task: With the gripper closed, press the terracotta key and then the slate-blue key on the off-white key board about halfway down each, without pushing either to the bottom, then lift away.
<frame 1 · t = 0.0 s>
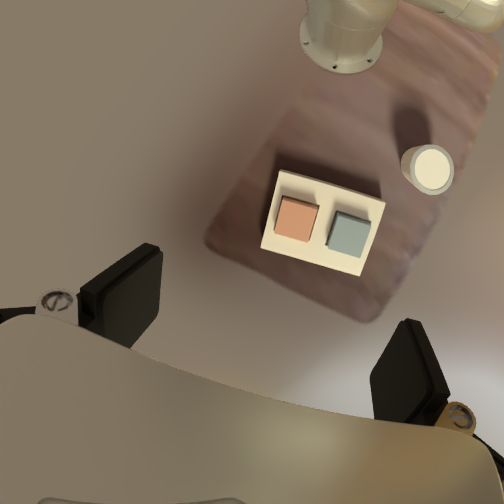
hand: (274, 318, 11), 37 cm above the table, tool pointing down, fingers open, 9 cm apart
key board: (322, 220, 46), on the table
key terracotta: (295, 219, 43), point 4 cm above the table, slide at 0.0 cm
shot glass: (416, 165, 40), on the table
key slate: (348, 235, 42), point 4 cm above the table, slide at 0.0 cm
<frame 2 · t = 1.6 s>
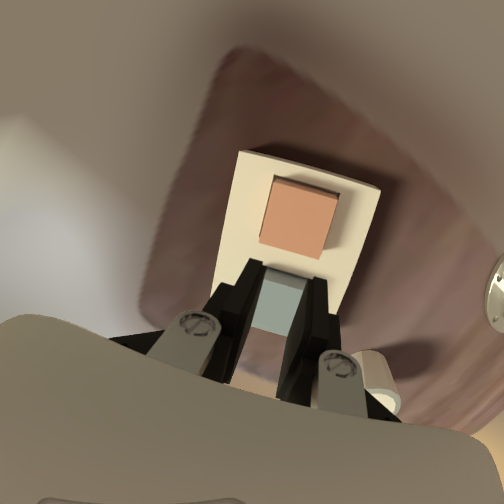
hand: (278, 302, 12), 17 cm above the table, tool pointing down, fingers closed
key board: (289, 247, 29), on the table
key terracotta: (298, 218, 24), point 4 cm above the table, slide at 0.0 cm
shot glass: (364, 366, 33), on the table
key slate: (273, 301, 27), point 4 cm above the table, slide at 0.0 cm
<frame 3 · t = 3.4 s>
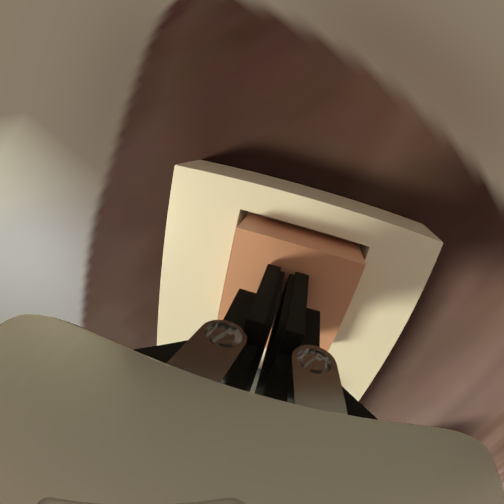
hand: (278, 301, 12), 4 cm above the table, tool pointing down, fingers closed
key board: (274, 321, 18), on the table
key terracotta: (287, 289, 13), point 3 cm above the table, slide at 0.6 cm, touching gripper
key slate: (246, 409, 16), point 4 cm above the table, slide at 0.0 cm
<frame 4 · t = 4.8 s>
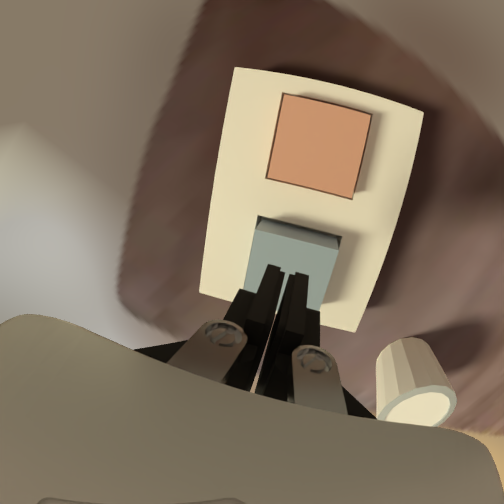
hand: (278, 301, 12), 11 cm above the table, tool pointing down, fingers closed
key board: (306, 198, 21), on the table
key terracotta: (318, 145, 17), point 3 cm above the table, slide at 0.8 cm
shot glass: (403, 359, 25), on the table
key slate: (289, 269, 19), point 4 cm above the table, slide at 0.0 cm
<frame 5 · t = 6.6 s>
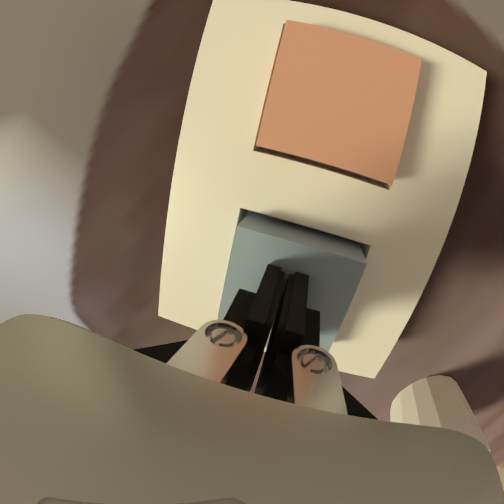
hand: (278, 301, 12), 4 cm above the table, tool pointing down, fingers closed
key board: (315, 186, 14), on the table
key terracotta: (339, 100, 10), point 3 cm above the table, slide at 0.8 cm
shot glass: (424, 399, 18), on the table
key slate: (288, 288, 13), point 3 cm above the table, slide at 0.6 cm, touching gripper
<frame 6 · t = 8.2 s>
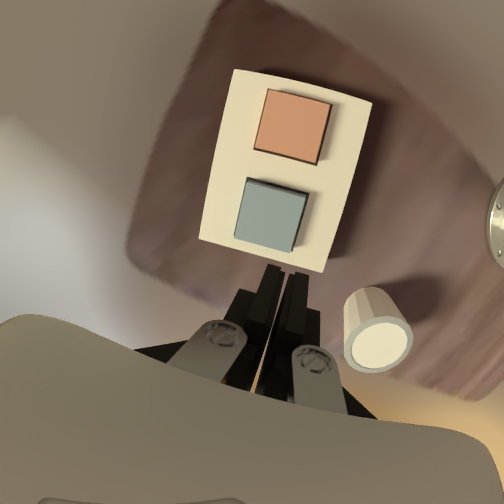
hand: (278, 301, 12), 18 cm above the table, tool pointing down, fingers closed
key board: (283, 168, 28), on the table
key terracotta: (292, 126, 23), point 3 cm above the table, slide at 0.8 cm
shot glass: (367, 307, 32), on the table
key slate: (270, 215, 26), point 3 cm above the table, slide at 0.7 cm
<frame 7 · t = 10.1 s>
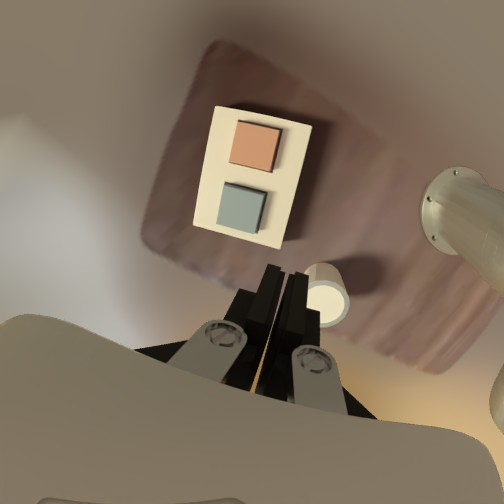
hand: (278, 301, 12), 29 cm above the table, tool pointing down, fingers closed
key board: (253, 174, 39), on the table
key terracotta: (255, 145, 35), point 3 cm above the table, slide at 0.8 cm
shot glass: (321, 280, 43), on the table
key slate: (241, 207, 38), point 3 cm above the table, slide at 0.7 cm
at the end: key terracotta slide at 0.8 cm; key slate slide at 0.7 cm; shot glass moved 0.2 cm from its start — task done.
